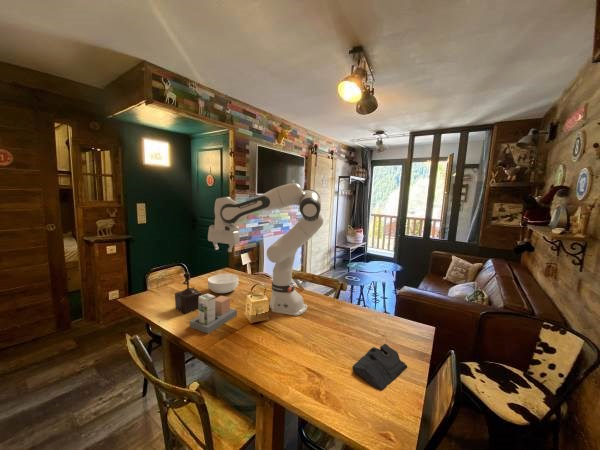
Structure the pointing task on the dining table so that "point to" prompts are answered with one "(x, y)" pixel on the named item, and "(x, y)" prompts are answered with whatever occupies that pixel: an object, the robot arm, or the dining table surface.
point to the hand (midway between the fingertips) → (223, 250)
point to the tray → (216, 315)
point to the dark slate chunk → (380, 366)
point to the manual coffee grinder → (187, 297)
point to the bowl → (223, 283)
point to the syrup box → (206, 309)
